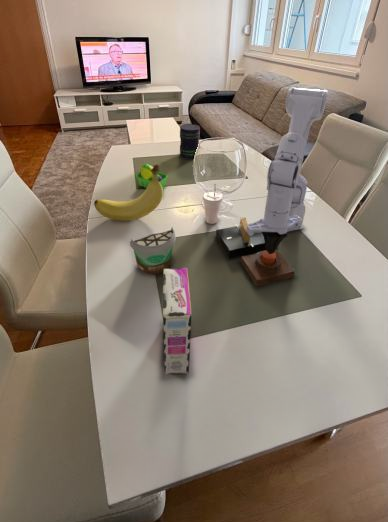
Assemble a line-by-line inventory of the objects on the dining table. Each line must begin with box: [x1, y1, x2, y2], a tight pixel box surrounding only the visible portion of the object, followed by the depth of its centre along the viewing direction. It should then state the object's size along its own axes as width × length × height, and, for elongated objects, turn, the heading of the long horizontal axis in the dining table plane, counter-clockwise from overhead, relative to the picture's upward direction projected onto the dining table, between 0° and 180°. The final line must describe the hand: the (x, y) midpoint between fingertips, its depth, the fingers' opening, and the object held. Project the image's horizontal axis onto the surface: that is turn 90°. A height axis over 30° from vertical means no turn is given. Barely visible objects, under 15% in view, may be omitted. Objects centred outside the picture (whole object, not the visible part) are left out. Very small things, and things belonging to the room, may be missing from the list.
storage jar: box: [179, 123, 201, 160], centre depth 148 cm, size 10×10×15 cm
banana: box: [93, 164, 164, 221], centre depth 96 cm, size 23×6×20 cm, turn 92°
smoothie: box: [202, 183, 223, 225], centre depth 98 cm, size 6×6×14 cm
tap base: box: [215, 222, 266, 259], centre depth 90 cm, size 14×11×3 cm
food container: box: [129, 227, 177, 275], centre depth 78 cm, size 12×6×10 cm, turn 117°
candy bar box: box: [162, 267, 192, 375], centre depth 57 cm, size 11×5×16 cm, turn 5°
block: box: [240, 249, 296, 287], centre depth 80 cm, size 11×9×4 cm
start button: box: [261, 250, 276, 264], centre depth 79 cm, size 4×4×2 cm
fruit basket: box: [135, 163, 169, 189], centre depth 118 cm, size 11×9×11 cm
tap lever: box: [239, 217, 250, 243], centre depth 88 cm, size 7×2×4 cm, turn 3°
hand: (269, 251), depth 78 cm, fingers closed
